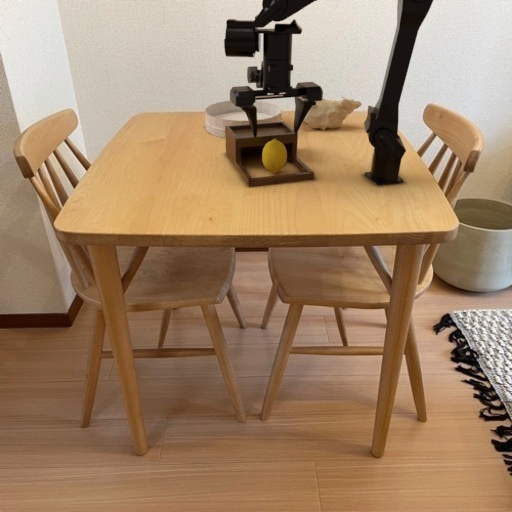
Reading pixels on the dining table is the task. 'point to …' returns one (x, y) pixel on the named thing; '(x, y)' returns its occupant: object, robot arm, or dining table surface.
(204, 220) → the dining table surface
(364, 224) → the dining table surface
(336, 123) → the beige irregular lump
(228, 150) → the step shelf
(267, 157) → the lemon
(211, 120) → the dish
